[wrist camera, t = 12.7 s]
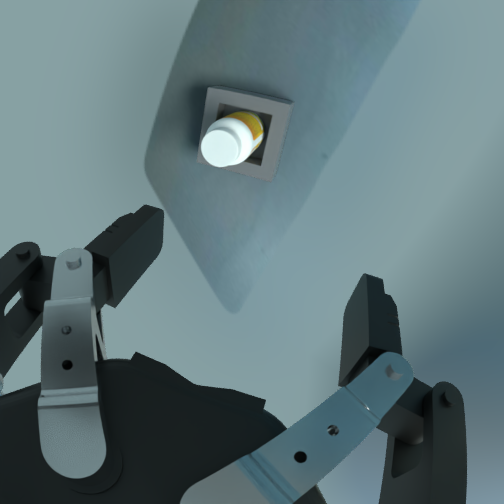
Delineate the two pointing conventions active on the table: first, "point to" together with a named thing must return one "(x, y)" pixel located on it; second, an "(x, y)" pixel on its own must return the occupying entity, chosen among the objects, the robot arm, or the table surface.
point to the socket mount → (271, 113)
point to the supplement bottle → (232, 138)
